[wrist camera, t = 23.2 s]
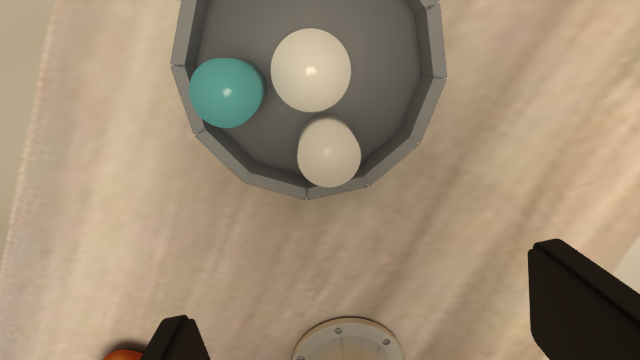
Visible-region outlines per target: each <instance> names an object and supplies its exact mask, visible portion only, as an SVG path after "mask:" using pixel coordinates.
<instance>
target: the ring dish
mask: <svg viewBox="0 0 640 360" xmlns="http://www.w3.org/2000/svg"><path fill="white" fill-rule="evenodd" d="M437 2H439V0H181V5H180V11H179V17H178V22H177V28H176V34H175V39H174V45H173V51H172V56H171V62H170V64H172V65H173V66H170V67H171V70H172V73H173V76H174V79H175V81H176V84H177V87H178V90H179V93H180V96H181V99H182V102H183V105H184V108H185V111H186V114H187V117H188V120H189V123H190V125H191V128H192V131H193V134H196V135H195V137H196V138H197V139H198V140H199V141H200V142H201V143H202V144H203V145H205V146H206V147H207V148H208V149H209V150H210V151H211V152H212V153H213V154H214V155H215V156H216V157H217V158H218V159H219V160H220V161H221V162H222V163H224V164H225V165H226V166H227V167H228V168H229V169H230V170H231V171H232V172H233V173H234V174H235V175H236V176H237V177H238V178H239V179H240V180H241V181H243V182H244V181H245V183H247V184H250V185H254V186H257V187H261V188H264V189H268V190H271V191H275V192H279V193H282V194H286V195H289V196H293V197H296V198H300V199H303V200H305V199H306V198H307V200H310V199H315V198H319V197H324V196H329V195H333V194H338V193H343V192H347V191H352V190H356V189H361V188H366V187H368V185H369V186H370V185H372V184H373V183H374V182H375V181H376V180H378V179H379V178H380V177H381V176H382V175H384V174H385V173H386V172H387V171H388V170H390V169H391V168H392V167H393V166H394V165H396V164H397V163H398V162H399V161H400V160H402V159H403V158H404V157H405V156H406V155H407V154H409V153H410V152H411V151H412V150H413V149H415V148H416V147H417V146H418V145H419V144H418V143H421V140H422V138H423V135H424V133H425V130H426V128H427V126H428V123H429V121H430V118H431V116H432V114H433V111H434V109H435V106H436V104H437V102H438V99H439V97H440V94H441V92H442V89H443V87H444V85H445V82H446V80H447V79H444V78H446V77H447V72H446V61H445V51H444V41H443V30H442V20H441V10H440V3H438V4H436V3H437ZM216 58H243V59H247V60H249V61H251V62H253V63H254V64H256V65H257V66H258V67H259V68H260V69H261V70H262V72H263V74H264V76H265V78H266V81H267V88H268V89H267V96H266V99H265V101H264V103H263V104H262V106H261V107H260V108H259V109H258V110H257V111H256V112H255V113H254V114H253V115H252V116H251V117H250V118H249V119H248V120H247V121H246V122H244V123H243V124H241V125H239V126H236V127H232V128H220V127H216V126H213V125H211V124H209V123H207V122H206V121H204V120H203V119H202V118H201V117H200V116H199V115H198V114H197V112H196V111H195V109H194V108H193V106H192V103H191V100H190V96H189V84H190V80H191V77H192V75H193V73H194V72H195V70H196V69H197V68H198V67H199V66H200V65H201V64H203V63H204V62H206V61H208V60H211V59H216ZM321 113H331V114H334V115H337V116H339V117H340V118H342V119H343V120H344V121H345V122H346V123H347V125H348V127H349V128H350V130H351V132H352V133H353V135H354V137H355V139H356V140H357V142H358V144H359V147H360V150H361V161H360V165H359V168H358V170H357V172H356V173H355V175H354V176H353V177H352V178H351V179H350V180H349V181H347V182H346V183H344V184H342V185H340V186H336V187H321V186H318V185H315V184H313V183H312V182H310V181H309V180H308V179H306V177H305V176H304V175H303V174H302V172H301V170H300V168H299V165H298V160H297V154H298V145H299V136H300V131H301V129H302V127H303V125H304V124H305V122H306V121H307V120H308V119H310V118H311V117H313V116H315V115H317V114H321ZM417 142H418V143H417ZM367 184H368V185H367Z"/></svg>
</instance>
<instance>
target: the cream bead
mask: <svg viewBox="0 0 640 360" xmlns="http://www.w3.org/2000/svg"><path fill="white" fill-rule="evenodd" d="M297 160H298V165H299V168H300V170H301V172H302V174H303V175H304V176H305V177H306V179H308V180H309V181H310V182H312V183H313V184H315V185H318V186H321V187H336V186H340V185H342V184H344V183H346V182H347V181H349V180H350V179H351V178H352V177H353V176H354V175H355V173H356V172H357V170H358V168H359V165H360V161H361V150H360V147H359V144H358V142H357V140H356V139H355V137H354V135H353V133H352V132H351V130H350V128H349V127H348V125H347V123H346V122H345V121H344V120H343V119H342V118H340V117H339V116H337V115H334V114H331V113H321V114H317V115H315V116H313V117H311V118H310V119H308V120H307V121H306V122H305V124H304V125H303V127H302V129H301V131H300V136H299V145H298V154H297Z"/></svg>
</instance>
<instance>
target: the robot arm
mask: <svg viewBox="0 0 640 360" xmlns="http://www.w3.org/2000/svg"><path fill="white" fill-rule="evenodd" d="M528 274H529V300H530V325H531V333H532V336H533V338H534V340H535V342H536V343H537V345H538V346H539V347H540V348H541V350H542V351H543V352H544V353H545V355H546V356H547V357H548V358H549V359H550V360H640V294H639V293H637V292H636V291H634V290H633V289H632V288H630V287H629V286H627V285H626V284H624V283H623V282H621V281H620V280H619V279H617V278H616V277H614V276H613V275H611V274H610V273H609V272H607V271H606V270H604V269H603V268H601V267H600V266H598V265H597V264H596V263H594V262H593V261H591V260H590V259H588V258H587V257H585V256H584V255H583V254H581V253H580V252H578V251H577V250H575V249H574V248H572V247H571V246H570V245H568V244H567V243H565V242H564V241H562V240H560V239H551V240H546V241H542V242H537V243H535V244H534V245H533V249H530V250H529V251H528ZM140 360H210V357H209V355H208V352H207V350H206V347H205V345H204V342H203V340H202V337H201V335H200V332H199V330H198V327H197V325H196V322H195V320H194V319H189V318H188V317H187V316H186V315H180V316H175V317H170V318H165V319H163V320H162V322H161V323H160V325H159V327H158V328H157V330H156V332H155V334H154V335H153V337H152V339H151V341H150V342H149V344H148V346H147V348H146V349H145V351H144V353H143V355H142V356H141V358H140ZM292 360H404V358H403V354H402V351H401V348H400V346H399V343H398V341H397V340H396V338H395V337H394V336H393V334H392V333H391V332H389V331H388V330H387V329H386V328H384V327H383V326H381V325H379V324H377V323H375V322H372V321H369V320H366V319H360V318H341V319H335V320H331V321H328V322H325V323H322V324H320V325H319V326H317V327H315V328H313V329H312V330H310V331H309V332H308V333H307V334H305V336H304V337H303V338H302V339H301V340H300V341H299V343H298V345H297V346H296V348H295V350H294V354H293V357H292Z"/></svg>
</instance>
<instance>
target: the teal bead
mask: <svg viewBox="0 0 640 360" xmlns="http://www.w3.org/2000/svg"><path fill="white" fill-rule="evenodd" d="M267 89H268V88H267V81H266V78H265V76H264V74H263V72H262V70H261V69H260V68H259V67H258V66H257V65H256V64H254V63H253V62H251V61H249V60H247V59H243V58H216V59H211V60H208V61H206V62H204V63H203V64H201V65H200V66H199V67H198V68H197V69H196V70H195V72H194V73H193V75H192V77H191V80H190V84H189V96H190V100H191V103H192V106H193V108H194V109H195V111H196V112H197V114H198V115H199V116H200V117H201V118H202V119H203V120H204V121H206V122H207V123H209V124H211V125H213V126H216V127H220V128H232V127H236V126H239V125H241V124H243V123H244V122H246V121H247V120H248V119H249V118H250V117H251V116H252V115H253V114H254V113H255V112H256V111H257V110H258V109H259V108H260V107H261V106H262V104H263V103H264V101H265V99H266V96H267Z"/></svg>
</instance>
